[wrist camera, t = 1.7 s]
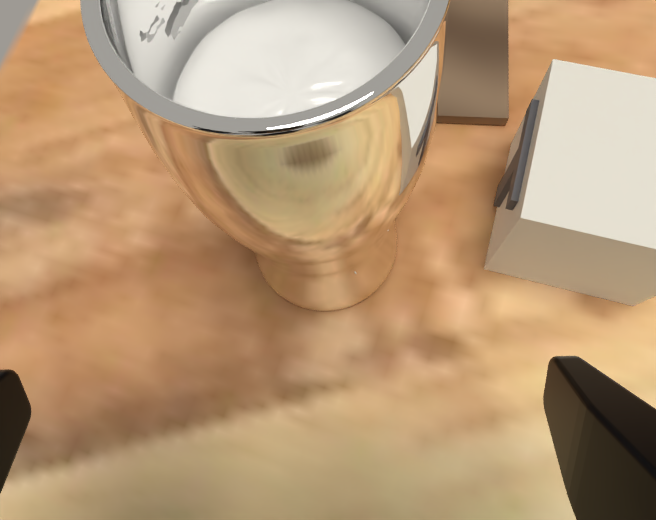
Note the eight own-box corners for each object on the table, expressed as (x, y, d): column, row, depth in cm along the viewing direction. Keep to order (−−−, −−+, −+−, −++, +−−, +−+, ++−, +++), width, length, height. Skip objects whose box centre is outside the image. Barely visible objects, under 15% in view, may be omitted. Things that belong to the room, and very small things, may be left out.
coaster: (505, 125, 25) (508, 118, 24) (285, 116, 26) (283, 109, 25) (504, -53, 28) (507, -63, 27) (306, -55, 29) (305, -65, 28)
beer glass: (225, 300, 23) (2, 99, 9) (272, 154, 25) (146, -202, 11) (386, 340, 23) (418, 188, 8) (423, 186, 24) (501, -158, 10)
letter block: (477, 268, 23) (512, 215, 18) (504, 143, 25) (545, 57, 19) (632, 306, 22) (723, 264, 17) (651, 174, 24) (739, 94, 18)
